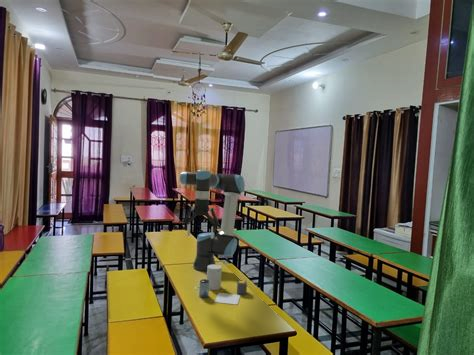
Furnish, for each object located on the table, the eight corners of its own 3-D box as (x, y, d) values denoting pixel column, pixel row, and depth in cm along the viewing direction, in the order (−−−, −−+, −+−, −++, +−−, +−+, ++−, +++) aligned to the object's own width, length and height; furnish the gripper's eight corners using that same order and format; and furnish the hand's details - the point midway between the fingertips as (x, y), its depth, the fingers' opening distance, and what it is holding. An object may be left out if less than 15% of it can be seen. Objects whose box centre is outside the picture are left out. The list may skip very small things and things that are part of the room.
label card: (195, 286, 194) (195, 286, 194) (204, 287, 193) (204, 287, 193) (194, 288, 191) (194, 288, 191) (203, 289, 190) (203, 289, 190)
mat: (218, 293, 186) (218, 292, 186) (240, 295, 184) (240, 295, 184) (214, 302, 174) (214, 301, 174) (237, 304, 172) (237, 304, 172)
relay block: (236, 291, 191) (237, 280, 190) (245, 291, 191) (246, 280, 191) (237, 294, 186) (237, 283, 185) (246, 295, 186) (246, 283, 186)
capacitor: (200, 293, 184) (201, 278, 184) (209, 294, 183) (210, 279, 183) (198, 297, 179) (198, 282, 179) (207, 298, 178) (208, 283, 178)
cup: (218, 290, 190) (219, 269, 189) (204, 288, 191) (205, 268, 191) (222, 285, 198) (223, 265, 197) (208, 283, 199) (209, 263, 199)
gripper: (178, 197, 183) (176, 236, 184) (222, 200, 179) (220, 240, 180) (182, 196, 191) (181, 233, 192) (225, 199, 186) (223, 237, 187)
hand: (200, 237), depth 186 cm, fingers open, 13 cm apart
